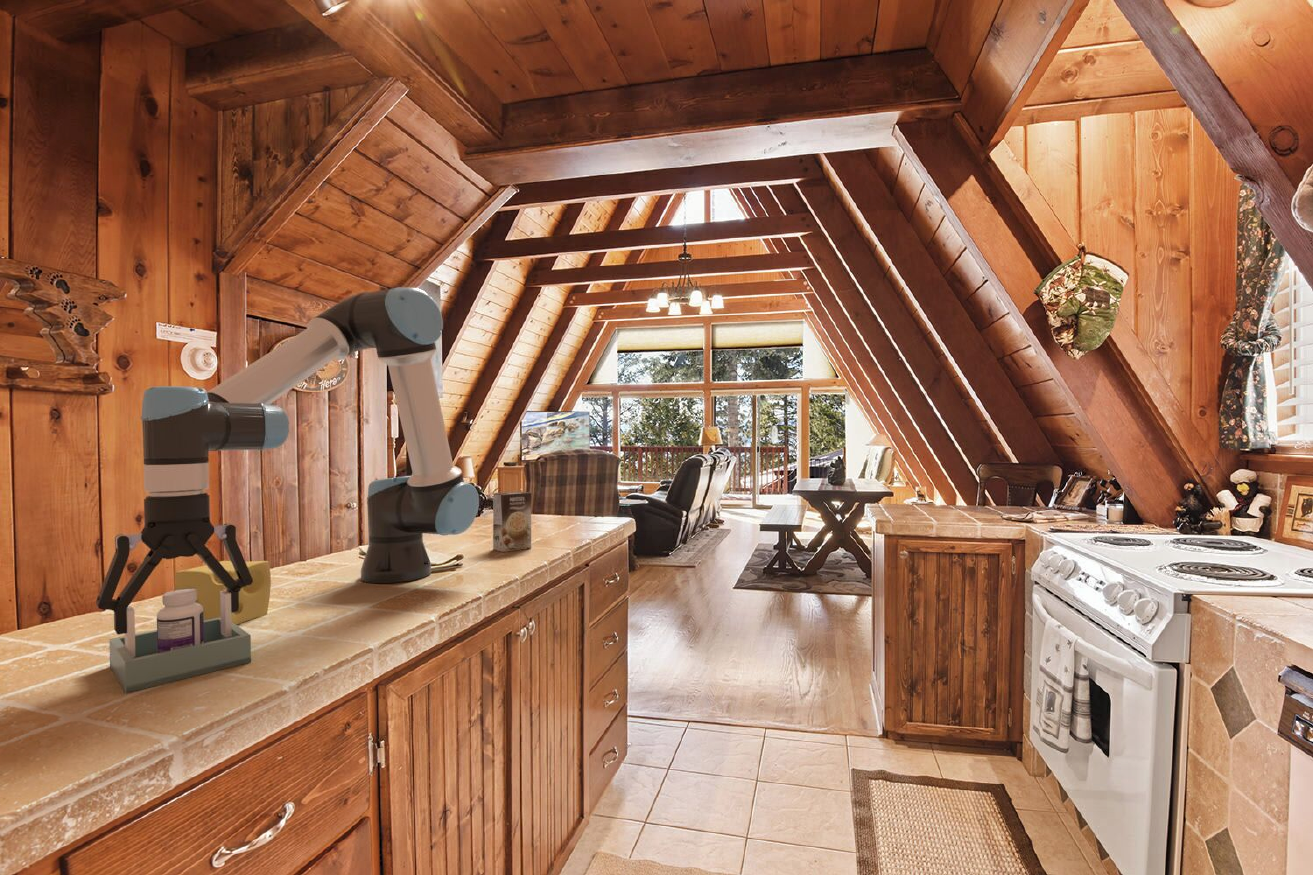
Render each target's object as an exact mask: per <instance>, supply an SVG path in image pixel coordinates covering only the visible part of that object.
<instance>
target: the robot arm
mask: <svg viewBox="0 0 1313 875" xmlns="http://www.w3.org/2000/svg"><path fill="white" fill-rule="evenodd" d="M443 329H444V321H443V316H442V312H441V310H440V307H439V306H438V304H437V302H436V301H435V300H434V299H433V297H432V296H430V295H429V294H428V293H427V292H426V291H424V290H422V289H420V288H418V287H412V286H409V287H401V286H399V287H398V286H397V287H394V288H388V289H381V290H374V291H368V292H367V291H365V292H359V293H356V294H353V295H351V296H348V297H346V298H344V299H343V300H341V301H339V302H337V303H336V304H334V305H333V306H331V307H329V308H327V309H326V310H324V311H322V312H321V313H320V314H318V315H317V316H315V317H313V318H311V319H310V320H308V322H307V325H306V329H305V330H303V331H301V332H300V333H298V334H297V335H295V336H294V337H291V338H290V339H289V340H287V341H286V342H283V343H282V344H281V345H279V346H278V347H276V348H275V349H273V350H271V351H270V352H268V353H267V354H265V355H264V356H261V357H260V358H259V359H257V360H256V361H254V362H252V363H251V364H249V365H248V366H246V367H244V368H243V369H240V370H239V371H238V372H236V373H235V374H233V375H231V376H230V377H228V378H227V379H225V380H224V381H222V382H220V383H219V384H217V385H216V386H215V387H213V388H211V389H209V390H208V391H207V390H206V389H205V388H202V387H195V386H177V385H175V386H173V385H171V386H170V385H169V386H168V385H167V386H165V385H164V386H163V385H161V386H160V385H159V386H158V385H157V386H151V387H148V388H147V389H146V390H145V391H144V392H143V395H142V396H143V397H142V403H141V405H142V406H141V416H140V421H141V422H142V423H141V425H142V426H141V428H142V448H143V449H142V450H143V452H142V453H143V492H145V493H147V494H149V495H147V496H145V498H144V499H143V518H144V519H143V520H144V525H143V526H144V527H143V528H142V531H141V532H140V533H135V534H123V533H119V534H117V535H116V536H115V537H114V545H115V546H114V547H115V549H114V550H115V552H114V555H113V556H112V559H111V562H110V565H109V567H108V570H107V572H106V575H105V577H104V580H103V582H102V585H101V587H100V590H99V592H98V595H97V598H96V601H95V605H96V606H97V607H98V609H100V610H101V611H102V610H109V611H112V612H113V625H114V626H113V630H114V631H115V632H116V634H117V636H119V635H122V634H124V636H125V647H126V648H127V650H128V651H129V652H130V654H131V655H132V657H135V634H136V626H135V625H136V622H135V621H136V620H135V619H136V618H135V617H136V616H135V609H134V608H133V606H130V605H131V603H132V601H133V600H134V598H136V595H137V594H138V593H139V592H140V590H141V588H142V587H143V586H144V584H145V583H146V581H147V580H148V578H150V576H151V574H152V572H153V571H154V570H155V569H156V568H157V566H158V565H159V564H160V563H161V561H162V560H163V559H164V560H174V559H176V558H177V559H178V558H179V557H183V558H184V557H189V558H190V557H194V556H195V555H196V556H198V558H200V559H201V560H202V561H203V563H204V564H205V565H207V566H208V567H209V568H210V570H211V571H212V572H213V573H214V574H215V575H216V576H217V578H218V579H219V580H220V581H221V582H222V583H223V585H224V586H225V587H226V588H227V591H226V590H225V591H220V605H221V634H222V635H224V636H225V637H230V636H232V623H231V613H233V612H238V609H239V591H240V590H241V588H242V587H245V586H247V585H251V584H252V583H253V579H252V577H251V574H250V572H249V570H248V567H247V565H246V563H245V562H246V560H245V558H244V555H243V554H242V551H241V549H240V546H239V544H238V541H237V527H236V525H233V524H231V523H224V524H222V525H213V524H212V522H211V514H210V513H211V510H210V509H211V508H210V504H211V503H210V494H208V492H205V491H206V490H208V489H209V488H210V469H209V467H210V466H209V462H210V461H209V459H210V458H209V456H210V452H217V451H255V450H256V451H264V450H270V449H278V448H280V447H281V446H283V445H284V443H285V442H286V441H287V439H288V437H289V433H290V426H289V425H290V421H289V417H288V415H287V413H286V411H285V410H284V409H283V408H281V407H280V406H278V405H276V404H273V403H274V402H275V401H277V400H278V399H280V398H281V397H283V396H284V395H285V394H287V393H288V392H289V391H291V390H293V388H295V387H297V386H298V385H299V384H301V383H302V382H304V381H305V380H307V379H308V378H310V377H311V376H313V375H314V374H315V373H317V372H318V371H319V370H321V369H322V368H324V367H325V366H326V365H328V364H330V363H331V362H332V361H339V360H340V361H341V360H344V359H345V358H347V357H348V356H350V355H351V354H354V353H356V352H360V351H363V350H368V349H375V351H376V355H377V358H378V360H380V361H381V362H382V363H384V364H386V366H388V371H389V376H390V381H391V385H392V389H393V394H394V397H395V402H396V405H397V410H398V416H399V420H400V423H401V424H400V425H401V428H402V431H403V432H402V434H403V437H404V442H405V446H406V449H407V453H408V459H409V463H410V468H411V471H412V473H411V475H405V476H404V475H403V476H395V477H389V478H382V479H376V480H372V481H371V482H370V483H369V484H368V487H367V488H368V490H367V497H366V501H367V504H366V505H367V526H368V528H367V529H368V546H367V550H366V553H365V555H364V558H363V562H362V564H361V568H360V580H361V581H362V582H365V583H368V584H369V583H371V584H392V583H393V584H394V583H402V582H404V583H405V582H409V581H414V580H418V579H422V578H425V577H428V576H429V575H431V574H432V563H431V560H430V558H429V555H428V552H427V549H426V546H425V544H424V540H423V537H424V535H423V534H429V535H440V536H443V537H444V536H449V535H450V536H455V535H457V536H458V535H460V534H462V533H464V532H465V531H468V529H469V528H470V527H471V526H472V524H473V523H474V521H475V519H476V518H477V517H476V516H477V514H478V512H479V506H480V499H479V493H478V490H477V489H476V487H475V486H473V484H471V483H469V482H466V481H464V475H463V471H462V469H461V468H460V467H457V466H456V465H454V463H453V459H452V458H453V456H452V452H451V448H450V444H449V439H448V434H447V430H446V429H447V428H446V426H445V421H444V416H443V412H442V406H441V402H440V398H439V392H438V386H437V382H436V377H435V374H434V368H433V364H432V357H433V356H434V355H435V353H436V352H437V346H436V341H438V340H439V339H440V338H441V336H442V332H441V331H443ZM214 534H216V536H217V538H218V539H220V540H222V543H223V546H224V548H225V551H226V552H227V555H228V557H229V561H231V562H232V564H233V567H234V569H235V571H236V574H237V576H238V579H236V580H234V579H233V578H232V577H231V576H230V574H229V573H228V572H227V571H226V570H225V569H224V567H223V566H222V565H221V564H220V563H219V562H220V561H219V560H218V559H217V558H216V557H215V555H214V554H213V553H212V552H211V550H210V549H209V547H207V546H206V544H207V542H208V541H209V539H211V537H212V536H213V535H214ZM140 542H142V543H143V544H144V545H145V546H147V548H148V549H149V551H148V552H147V554H146V555H145V557H144V559H143V561H142V563H141V564H140V565H139V567H138V568H137V569H136V570H135V572H134V574H133V575H132V577H130V579H129V580H128V582H127V583H126V585H125V586H124V587H123V589H122V590H121V592H120V593H119V594H118V596H117V597H116V599H114V596H115V593H116V590H117V588H118V584H119V582H120V580H121V577H122V575H123V572H124V570H125V567H126V564H127V562H128V559H129V557H130V552H131V551H133V550H135V549H136V548H137V544H138V543H140Z"/></svg>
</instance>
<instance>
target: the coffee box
mask: <svg viewBox="0 0 1313 875" xmlns="http://www.w3.org/2000/svg"><path fill="white" fill-rule="evenodd" d="M492 509H493V510H492V526H493V527H492V529H493V530H492V549H493V550H494V551H498V552H502V553H505V552H513V551H520V550H521V549H522V550H528V549H527V548H529V549H532V492H530V491H529V492H527V491H509V492H493V495H492Z"/></svg>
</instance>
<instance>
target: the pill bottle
mask: <svg viewBox="0 0 1313 875" xmlns="http://www.w3.org/2000/svg"><path fill="white" fill-rule="evenodd" d="M161 596H162V597H161V598H162V600H161V601H162V605H163V606H164V607H163V608H162V609H160V610H159V611H158V612H157V613H156V630H157V642H158V653H162V652H166V651H171V650H176V649H180V648H185V647H189V646H194V645H199V644H203V643H204V620H203V607H202V606H201V605H200V604H198V603H195V601H196V600H197V590H196V589H183V590H176V591H175V590H171V591H167V592H165V593H163V594H162V595H161Z"/></svg>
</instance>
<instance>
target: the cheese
mask: <svg viewBox="0 0 1313 875" xmlns="http://www.w3.org/2000/svg"><path fill="white" fill-rule="evenodd" d="M219 563H220V564H221V565H222V566H223V567H224V569H225V570H226V571H227V572H228V573H229V574H230V576H231V577H232V578H233V579H234V580H236V579H238V576H237V574H236V571H235V569H234V567H233V564H232V562H231V560H221V561H219ZM245 563H246V565H247V567H248V570H249V572H250V574H251V577H252V579H253V583H252V584H251V585H247V586H245V587H242V588H241V590H240V591H239V609H238V612H233V613H231V622H233V623H234V624H236V625H237V626H238V625H239V624H242V623H245V622H248V621H251V620H253V619H258V618H260V617H263V616H266V615H267V614H268V610H269V606H270V605H269V603H270V598H271V587H272V577H271V569H270V568H271V567H270V562H269V561H268V560H255V561H254V560H253V561H252V560H251V561H245ZM183 589H196V590H197V600H196V601H195V603H198V604H200V605H201V606H202V607H203V620H204V621H205V620H210V619H215V618H220V617H221V605H220V591H225V590H226V591H227V588H226V587H225V586H224V585H223V583H222V582H221V581H220V580H219V579H218V578H217V576H216V575H215V574H214V573H213V572H212V571H211V570H210V568H209V567H208V566H207V565H206V564H205V565H204V564H203V565H201V566H195V567H191V568H188V569H182V570H178V571H175V573H174V591H176V590H183Z"/></svg>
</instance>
